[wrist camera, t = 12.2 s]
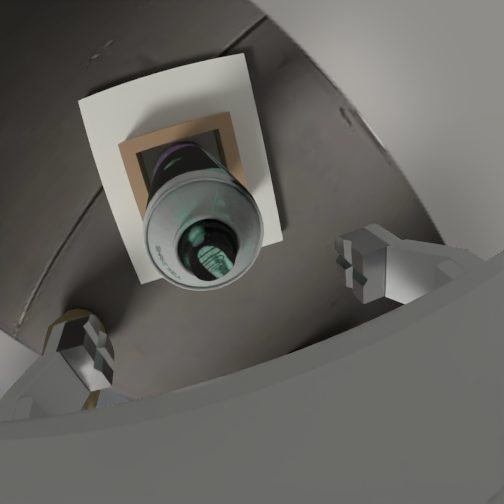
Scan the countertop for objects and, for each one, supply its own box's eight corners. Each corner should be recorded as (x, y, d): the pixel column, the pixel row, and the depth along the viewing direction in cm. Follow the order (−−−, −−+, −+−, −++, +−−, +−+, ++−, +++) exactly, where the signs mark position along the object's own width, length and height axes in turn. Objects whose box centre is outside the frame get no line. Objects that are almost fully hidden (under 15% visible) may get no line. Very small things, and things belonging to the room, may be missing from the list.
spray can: (168, 132, 27) (168, 164, 10) (221, 153, 29) (309, 220, 12) (146, 186, 29) (120, 303, 11) (199, 204, 31) (248, 335, 13)
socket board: (82, 101, 25) (65, 99, 20) (240, 55, 27) (254, 45, 22) (142, 277, 34) (139, 304, 29) (278, 235, 36) (296, 255, 31)
